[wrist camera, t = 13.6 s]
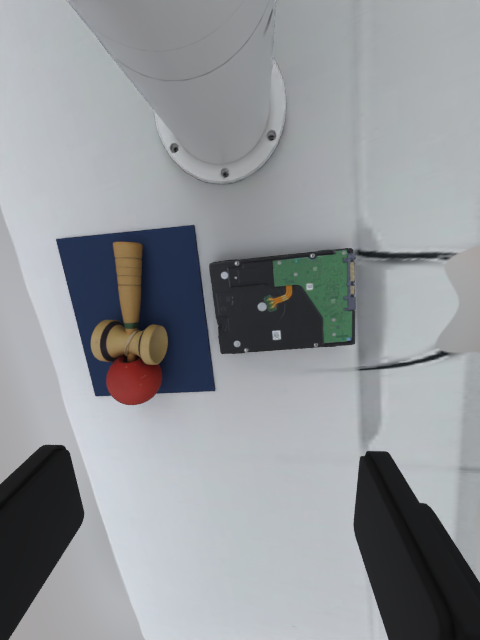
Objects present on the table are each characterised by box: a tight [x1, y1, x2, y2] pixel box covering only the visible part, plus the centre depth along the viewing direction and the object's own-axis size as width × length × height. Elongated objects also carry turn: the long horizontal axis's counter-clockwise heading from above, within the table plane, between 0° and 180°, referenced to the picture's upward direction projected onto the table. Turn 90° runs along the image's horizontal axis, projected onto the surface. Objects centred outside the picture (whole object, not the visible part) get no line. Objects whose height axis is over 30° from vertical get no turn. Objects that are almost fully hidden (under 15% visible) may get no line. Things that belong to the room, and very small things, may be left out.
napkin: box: [56, 225, 215, 396], centre depth 33 cm, size 20×16×1 cm
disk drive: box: [209, 248, 356, 354], centre depth 30 cm, size 10×3×15 cm
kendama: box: [91, 242, 168, 405], centre depth 31 cm, size 8×6×18 cm
